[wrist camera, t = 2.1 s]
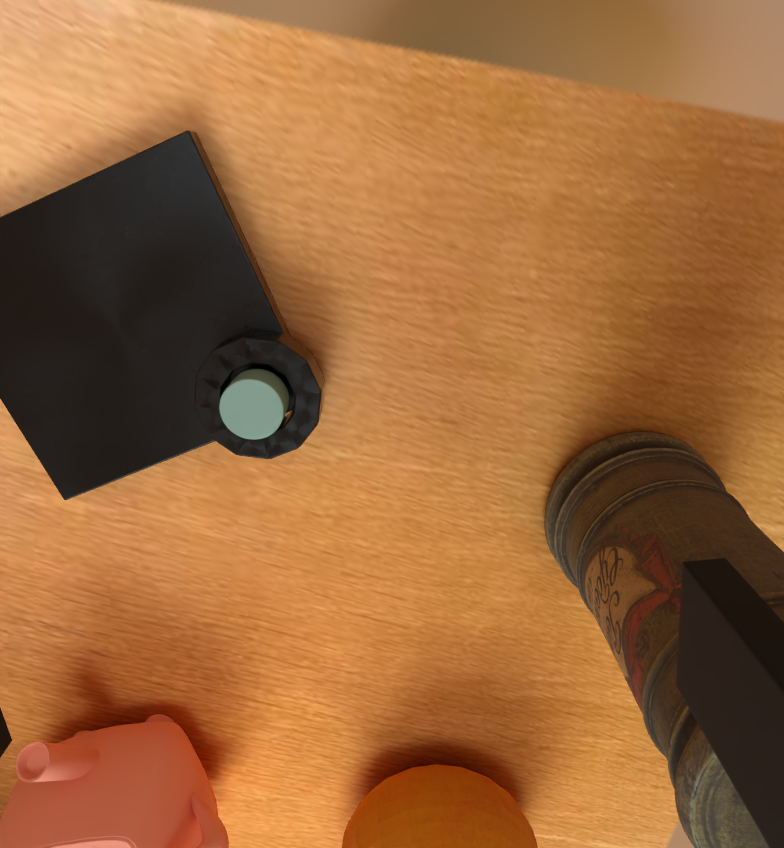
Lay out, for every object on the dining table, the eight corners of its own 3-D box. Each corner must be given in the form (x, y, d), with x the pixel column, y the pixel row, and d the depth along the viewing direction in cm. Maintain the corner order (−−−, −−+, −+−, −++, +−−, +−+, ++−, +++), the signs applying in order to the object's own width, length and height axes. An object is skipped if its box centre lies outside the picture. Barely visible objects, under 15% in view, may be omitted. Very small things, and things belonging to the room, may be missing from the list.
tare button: (273, 359, 30) (266, 369, 29) (299, 413, 31) (294, 426, 29) (217, 381, 31) (207, 393, 29) (245, 435, 31) (236, 449, 30)
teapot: (85, 652, 39) (-9, 794, 30) (265, 741, 41) (229, 900, 32) (7, 781, 42) (-100, 946, 33) (178, 858, 44) (122, 1032, 35)
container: (690, 404, 34) (993, 626, 17) (727, 551, 37) (1018, 868, 20) (519, 464, 35) (642, 729, 18) (568, 602, 38) (714, 945, 21)
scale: (213, 123, 29) (194, 117, 27) (344, 411, 34) (340, 432, 31) (-72, 255, 31) (-118, 262, 28) (88, 512, 36) (62, 540, 33)
